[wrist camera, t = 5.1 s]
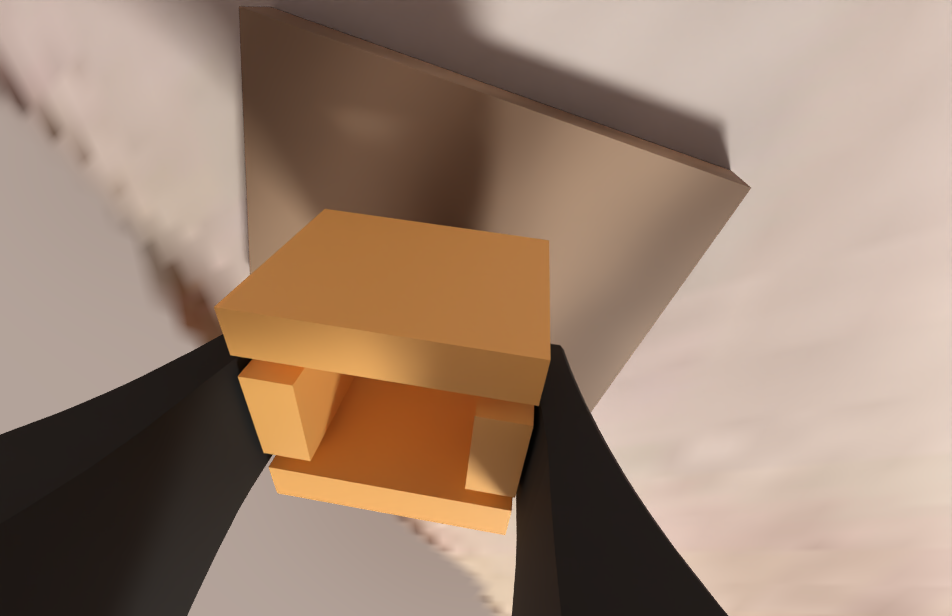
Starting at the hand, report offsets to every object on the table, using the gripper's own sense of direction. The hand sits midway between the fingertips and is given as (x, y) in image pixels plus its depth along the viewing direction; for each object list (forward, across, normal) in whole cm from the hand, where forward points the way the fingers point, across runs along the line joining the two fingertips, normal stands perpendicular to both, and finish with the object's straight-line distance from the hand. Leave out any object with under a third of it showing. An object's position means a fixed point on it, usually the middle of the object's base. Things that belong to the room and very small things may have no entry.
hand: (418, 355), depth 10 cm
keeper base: (+6, 0, 0) cm, 6 cm away
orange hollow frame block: (+1, 0, 0) cm, 1 cm away
